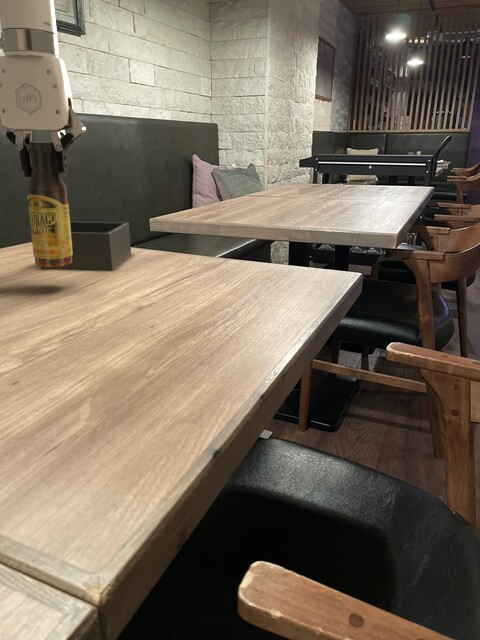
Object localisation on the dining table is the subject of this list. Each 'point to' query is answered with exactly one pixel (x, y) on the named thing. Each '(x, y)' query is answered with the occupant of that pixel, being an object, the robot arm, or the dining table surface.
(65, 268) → the tub
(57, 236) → the sauce bottle
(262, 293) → the dining table surface
